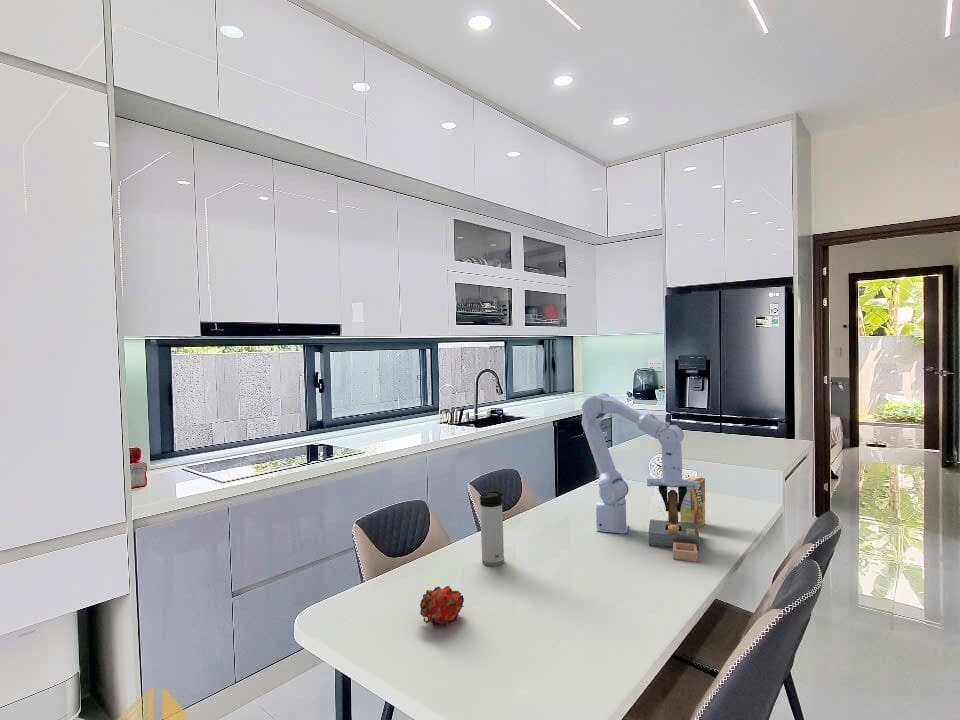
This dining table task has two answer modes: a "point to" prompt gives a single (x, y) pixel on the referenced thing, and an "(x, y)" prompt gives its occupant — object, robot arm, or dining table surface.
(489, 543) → the travel mug
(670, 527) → the button
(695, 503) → the candy box
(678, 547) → the holder
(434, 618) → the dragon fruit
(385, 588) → the dining table surface
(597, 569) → the dining table surface
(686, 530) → the panel
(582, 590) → the dining table surface
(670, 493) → the brown wooden cylinder
